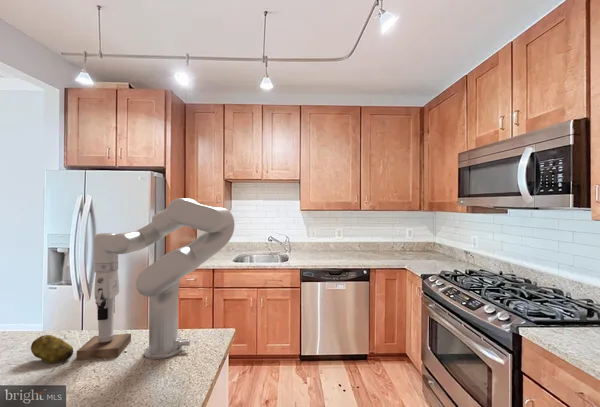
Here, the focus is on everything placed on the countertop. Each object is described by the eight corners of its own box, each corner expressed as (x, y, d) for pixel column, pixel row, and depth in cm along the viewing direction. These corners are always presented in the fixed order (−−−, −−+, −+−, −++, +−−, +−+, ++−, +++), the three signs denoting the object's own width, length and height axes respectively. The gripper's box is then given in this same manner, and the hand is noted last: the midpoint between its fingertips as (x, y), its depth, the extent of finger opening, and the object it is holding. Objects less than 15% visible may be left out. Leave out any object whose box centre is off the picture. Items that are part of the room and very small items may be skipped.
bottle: (102, 337, 117) (102, 269, 118) (116, 336, 118) (117, 269, 118) (94, 342, 112) (94, 272, 113) (109, 342, 113) (109, 272, 113)
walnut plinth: (130, 341, 123) (130, 333, 123) (118, 356, 110) (118, 348, 110) (94, 344, 120) (94, 336, 120) (76, 360, 108) (76, 351, 108)
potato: (49, 369, 101) (49, 344, 101) (26, 362, 106) (26, 338, 106) (76, 358, 109) (76, 335, 109) (53, 351, 114) (53, 329, 114)
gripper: (108, 271, 108) (107, 324, 108) (125, 262, 125) (125, 308, 124) (83, 272, 106) (83, 326, 106) (105, 263, 123) (104, 310, 123)
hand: (106, 316), depth 115 cm, fingers closed on bottle, 5 cm apart
